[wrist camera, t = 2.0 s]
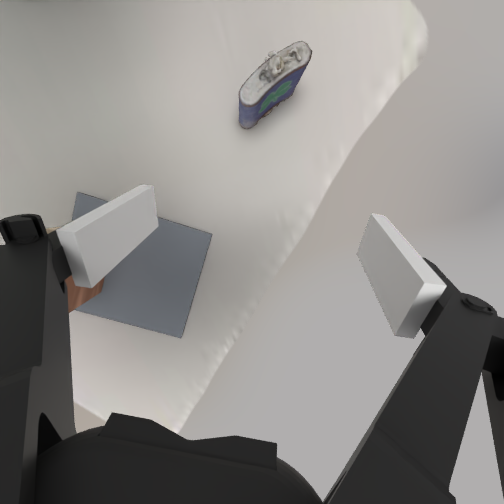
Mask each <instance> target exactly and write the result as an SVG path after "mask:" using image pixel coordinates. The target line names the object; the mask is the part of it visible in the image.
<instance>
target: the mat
mask: <svg viewBox="0 0 504 504" xmlns="http://www.w3.org/2000/svg"><path fill="white" fill-rule="evenodd" d="M106 203H108V201H105V200H102V199H99V198H95V197H92V196H89V195H86V194H83V193H80V192H77V196H76V201H75V206H74V211H73V217H72V221H73V220H75V219H77V218H79V217H81V216H83V215H85V214H87V213H89V212H91V211H93V210H94V209H96V208H98V207H100V206H102V205H104V204H106ZM157 218H158V227H157V228H156V229H155V230H154V231H153V232H152V233H151V234H150V235H149V236H148V237H146V238H145V239H144V240H143V241H142V242H141V243H140V244H139V245H138V246H137V247H136V248H135V249H134V250H132V251H131V252H130V253H129V254H128V255H127V256H126V257H125V258H124V259H123V260H122V261H121V262H120V263H118V264H117V265H116V266H115V267H114V268H113V269H112V270H111V271H110V272H109V273H108V274H107V275H106V276H105V277H104V282H103V286H102V291H101V293H99V294H98V295H96V296H94V297H93V298H91V299H90V300H88V301H87V302H85V303H84V304H82V305H81V306H79V307H77V308H76V309H74V310H77V311H81V312H84V313H88V314H92V315H96V316H99V317H103V318H107V319H111V320H114V321H118V322H122V323H126V324H129V325H133V326H137V327H141V328H144V329H148V330H152V331H156V332H159V333H163V334H167V335H171V336H174V337H178V338H181V337H182V334H183V330H184V327H185V324H186V320H187V317H188V314H189V310H190V307H191V303H192V300H193V297H194V293H195V290H196V287H197V283H198V280H199V277H200V273H201V270H202V267H203V263H204V260H205V256H206V253H207V250H208V246H209V243H210V240H211V236H212V234H210V233H207V232H204V231H201V230H197V229H194V228H191V227H188V226H185V225H181V224H178V223H175V222H172V221H169V220H166V219H162V218H159V217H157Z"/></svg>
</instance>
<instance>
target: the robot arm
mask: <svg viewBox="0 0 504 504" xmlns="http://www.w3.org/2000/svg"><path fill="white" fill-rule="evenodd" d="M157 227H158V218H157V209H156V200H155V192H154V186H152V185H144V184H141V185H139V186H137V187H136V188H134V189H132V190H130V191H128V192H126V193H124V194H123V195H121V196H119V197H117V198H115V199H113V200H111V201H109V202H108V203H106V204H104V205H102V206H100V207H98V208H96V209H94V210H93V211H91V212H89V213H87V214H85V215H83V216H81V217H79V218H77V219H75V220H73V221H71V222H69V223H67V224H66V225H64V226H62V227H60V228H58V229H56V230H54V231H52V232H50V233H49V234H47V231H46V229H45V226H44V223H43V221H42V218H41V216H39V215H35V214H21V215H15V216H11V217H7V218H4V219H2V220H0V232H1V235H2V237H3V239H4V241H5V243H6V244H5V245H0V504H456V499H455V497H454V496H453V495H452V494H451V493H450V492H449V484H450V480H451V477H452V473H453V470H454V466H455V463H456V459H457V456H458V452H459V449H460V445H461V441H462V438H463V435H464V431H465V428H466V424H467V420H468V417H469V413H470V410H471V406H472V403H473V400H474V396H475V393H476V389H477V386H478V382H479V379H480V375H481V372H482V376H483V382H484V388H485V393H486V399H487V405H488V411H489V416H490V422H491V428H492V434H493V440H494V445H495V451H496V457H497V463H498V468H499V474H500V480H501V486H502V491H503V497H504V318H501V317H498V316H497V312H496V311H495V309H494V308H493V307H492V306H491V305H489V304H488V303H486V302H485V301H483V300H481V299H479V298H477V297H475V296H472V295H469V294H465V293H461V292H460V291H459V290H458V289H457V288H456V287H455V286H454V285H453V284H452V283H451V281H450V280H449V279H448V278H446V276H445V275H444V274H443V273H442V272H441V271H440V270H439V269H438V267H437V266H436V265H435V264H433V263H432V262H430V261H429V260H427V259H426V258H422V257H421V256H420V255H419V254H418V253H417V251H416V250H415V249H414V248H413V247H412V246H411V245H410V244H409V243H408V241H407V240H406V239H405V238H404V237H403V236H402V234H401V233H400V232H399V231H398V230H397V229H396V228H395V227H394V225H393V224H392V223H391V222H390V221H389V220H388V219H387V217H386V216H385V215H379V214H371V215H370V218H369V220H368V223H367V226H366V229H365V232H364V235H363V237H362V240H361V243H360V246H359V249H358V251H357V256H358V258H359V260H360V262H361V264H362V266H363V268H364V271H365V273H366V275H367V277H368V279H369V281H370V284H371V286H372V288H373V290H374V292H375V294H376V296H377V298H378V301H379V303H380V305H381V307H382V309H383V312H384V314H385V316H386V318H387V320H388V322H389V324H390V327H391V329H392V331H393V333H394V335H395V336H400V337H406V338H413V339H414V337H415V336H416V334H417V332H418V331H419V330H420V328H421V329H422V331H423V333H424V334H425V338H424V339H423V341H422V342H421V344H420V345H419V347H418V348H417V350H416V351H415V353H414V354H413V357H412V358H411V360H410V362H409V363H408V365H407V367H406V368H405V370H404V371H403V373H402V375H401V376H400V378H399V380H398V381H397V383H396V384H395V386H394V388H393V389H392V391H391V393H390V394H389V396H388V398H387V399H386V401H385V403H384V404H383V406H382V407H381V409H380V411H379V412H378V414H377V416H376V417H375V419H374V420H373V422H372V424H371V426H370V427H369V429H368V430H367V432H366V433H365V435H364V437H363V438H362V440H361V442H360V443H359V445H358V447H357V448H356V450H355V452H354V453H353V455H352V456H351V458H350V460H349V461H348V463H347V464H346V466H345V468H344V469H343V471H342V473H341V474H340V476H339V477H338V479H337V481H336V482H335V484H334V485H333V487H332V488H331V490H330V492H329V493H328V495H327V496H326V498H325V499H324V501H323V502H322V501H321V499H320V497H319V496H318V495H317V493H316V492H315V491H314V489H313V488H312V486H311V485H310V484H309V483H308V482H307V481H306V480H305V478H304V477H303V476H302V475H301V474H300V473H298V472H297V471H296V470H295V469H294V468H293V467H291V466H290V465H289V464H287V463H286V462H284V461H283V460H281V459H279V458H277V443H272V442H267V441H262V440H256V439H251V438H246V437H240V436H227V437H219V438H210V439H201V440H187V439H185V438H183V437H181V436H179V435H178V434H176V433H174V432H172V431H170V430H169V429H167V428H165V427H163V426H162V425H160V424H158V423H156V422H154V421H153V420H150V419H145V418H139V417H134V416H129V415H124V414H118V413H113V412H112V413H111V415H110V417H109V419H108V420H107V422H106V424H105V426H100V427H96V428H92V429H88V430H86V431H83V432H80V433H76V430H75V423H74V406H73V387H72V368H71V348H70V329H69V309H68V290H67V285H66V282H65V280H66V279H67V278H68V277H69V276H71V275H72V277H73V280H74V283H75V286H80V287H87V288H93V287H94V286H95V285H96V284H97V283H98V282H99V281H100V280H101V279H102V278H103V277H104V276H106V275H107V274H108V273H109V272H110V271H111V270H112V269H113V268H114V267H115V266H116V265H117V264H118V263H120V262H121V261H122V260H123V259H124V258H125V257H126V256H127V255H128V254H129V253H130V252H131V251H132V250H134V249H135V248H136V247H137V246H138V245H139V244H140V243H141V242H142V241H143V240H144V239H145V238H146V237H148V236H149V235H150V234H151V233H152V232H153V231H154V230H155V229H156V228H157Z"/></svg>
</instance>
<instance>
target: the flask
mask: <svg viewBox="0 0 504 504" xmlns="http://www.w3.org/2000/svg"><path fill="white" fill-rule="evenodd" d="M311 55H312V50H311V49H310V47H309V46H308V44H307V43H305V42H303V41H299V42H296V43H294V44H292V45H290V46H288V47H286V48H284V49H283V50H281V51H279V52H276V51H271V52H269V53H268V56H269V57H271V56H272V57H271V58H269V59H268V60H267V57H266V58H265V62H264V63H263V64H262V65H261V66H260V67H259V68H258V69H257V70H256V71H255V72H254V73H253V74H252V75H251V76H250V77H249V78H248V79H247V80H246V82H245V83H244V84H243V85H242V87H241V89H240V91H239V123H240V124H241V126H242V127H244V128H245V129H246V128H247V129H249V128H251V127H253V126H254V125H256V124H257V122H258V121H259V120H260V119H261V118H263V117H265V116H266V115H268V114H269V113H270V112H271V111H272V109H273V107H275V106H277V107H278V105H279V103H280V102H282V101H285V100H286V99H287V98H289V97H290V96H292V94H293V92H294V89H295V87H296V85H297V84H298V82H299V80H300V78H301V76H302V74H303V72H304V70H305V69H306V66H307V65H308V63H309V61H310V59H311ZM266 60H267V61H266Z"/></svg>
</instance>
